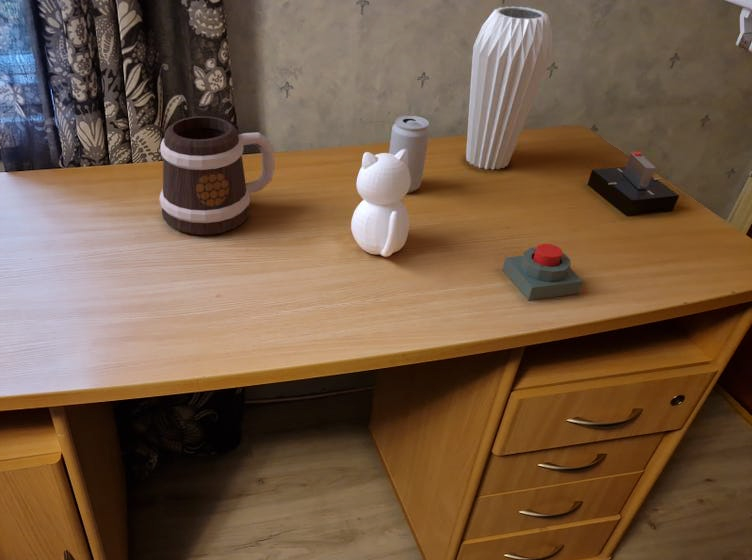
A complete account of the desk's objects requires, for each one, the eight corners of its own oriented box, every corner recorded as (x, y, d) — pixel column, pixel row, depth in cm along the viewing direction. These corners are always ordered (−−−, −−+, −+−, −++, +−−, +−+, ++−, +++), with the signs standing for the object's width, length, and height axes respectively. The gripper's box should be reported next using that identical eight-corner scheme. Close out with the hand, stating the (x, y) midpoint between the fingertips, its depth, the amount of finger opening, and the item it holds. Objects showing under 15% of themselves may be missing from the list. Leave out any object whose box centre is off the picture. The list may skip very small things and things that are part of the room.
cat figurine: (392, 224, 112) (405, 136, 103) (421, 265, 103) (437, 172, 93) (340, 230, 111) (348, 141, 101) (364, 271, 102) (375, 178, 92)
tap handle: (647, 189, 116) (656, 166, 113) (637, 189, 116) (647, 166, 113) (631, 173, 121) (640, 151, 118) (622, 174, 121) (631, 151, 118)
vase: (437, 158, 132) (463, 10, 115) (481, 141, 138) (512, -2, 121) (493, 182, 124) (529, 28, 107) (536, 163, 130) (578, 14, 113)
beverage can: (407, 175, 126) (416, 111, 118) (427, 190, 122) (438, 124, 114) (378, 182, 124) (385, 117, 116) (397, 197, 120) (407, 131, 112)
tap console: (675, 210, 117) (683, 194, 115) (623, 216, 115) (629, 199, 113) (633, 180, 126) (639, 163, 123) (584, 184, 124) (589, 168, 122)
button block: (578, 293, 98) (587, 270, 95) (528, 300, 96) (535, 276, 94) (550, 264, 104) (557, 241, 101) (502, 270, 102) (508, 247, 100)
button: (564, 265, 97) (567, 255, 95) (541, 268, 96) (544, 258, 95) (551, 252, 99) (554, 242, 98) (528, 255, 99) (531, 245, 97)
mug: (176, 245, 107) (167, 154, 97) (150, 203, 117) (140, 117, 107) (291, 222, 113) (294, 134, 103) (257, 183, 123) (257, 100, 113)
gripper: (901, -58, 74) (831, 73, 83) (762, -86, 89) (716, 27, 98) (853, -56, 73) (788, 76, 82) (720, -85, 88) (678, 29, 97)
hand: (748, 49), depth 90 cm, fingers closed
